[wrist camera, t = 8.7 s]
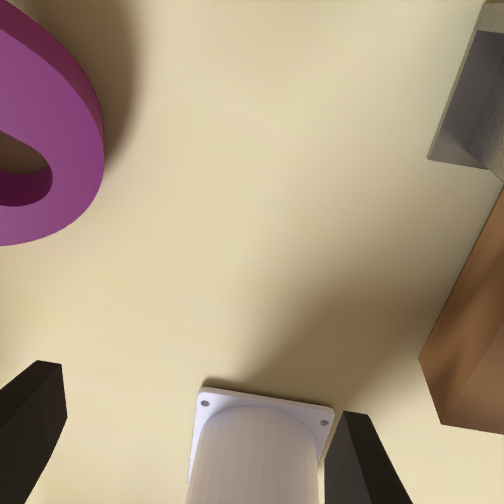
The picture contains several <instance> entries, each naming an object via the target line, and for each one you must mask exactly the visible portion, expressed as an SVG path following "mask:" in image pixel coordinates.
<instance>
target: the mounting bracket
mask: <svg viewBox="0 0 504 504" xmlns="http://www.w3.org/2000/svg"><path fill="white" fill-rule="evenodd" d="M0 131H2V132H4V133H6V134H8V135H10V136H12V137H14V138H15V139H17V140H19V141H21V142H23V143H25V144H27V145H29V146H30V147H32V148H33V149H35V150H36V151H37V152H39V153H40V154H41V155H42V156H43V157H44V158H45V160H46V161H47V162H48V164H49V166H47V167H46V168H45V169H43V170H41V171H39V172H36V173H32V174H23V175H19V174H10V173H6V172H2V171H0V246H8V245H15V244H21V243H26V242H30V241H34V240H37V239H40V238H43V237H46V236H49V235H51V234H53V233H56V232H57V231H59V230H61V229H63V228H65V227H66V226H68V225H69V224H71V223H72V222H74V221H75V220H76V219H77V218H78V217H79V216H81V215H82V214H83V213H84V211H85V210H86V209H87V208H88V207H89V205H90V204H91V203H92V201H93V200H94V198H95V196H96V194H97V192H98V190H99V187H100V184H101V181H102V176H103V171H104V128H103V118H102V113H101V109H100V105H99V102H98V99H97V96H96V94H95V92H94V90H93V87H92V85H91V83H90V81H89V80H88V78H87V76H86V75H85V73H84V71H83V70H82V68H81V67H80V66H79V64H78V63H77V62H76V60H75V59H74V58H73V56H72V55H71V54H70V53H69V52H68V51H67V50H66V49H65V48H64V46H63V45H62V44H61V43H60V42H59V41H57V40H56V39H55V38H54V37H53V36H52V35H51V34H50V33H49V32H48V31H46V30H45V29H44V28H43V27H41V26H40V25H39V24H37V23H36V22H35V21H34V20H32V19H31V18H29V17H28V16H27V15H25V14H24V13H23V12H21V11H20V10H18V9H17V8H16V7H14V6H13V5H12V4H10V3H9V2H7V1H6V0H0Z"/></svg>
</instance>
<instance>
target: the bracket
mask: <svg viewBox="0 0 504 504" xmlns="http://www.w3.org/2000/svg"><path fill="white" fill-rule="evenodd" d="M427 158H428V159H429V160H433V161H439V162H445V163H451V164H457V165H463V166H469V167H475V168H481V169H487V170H490V171H491V172H492V173H494V174H495V175H496V176H497V177H499V178H500V179H501V180H502V181H503V182H504V3H484V4H483V6H482V9H481V12H480V14H479V17H478V20H477V23H476V25H475V28H474V31H473V34H472V36H471V39H470V42H469V44H468V47H467V50H466V53H465V55H464V58H463V61H462V63H461V66H460V69H459V72H458V74H457V77H456V80H455V82H454V85H453V88H452V91H451V93H450V96H449V99H448V101H447V104H446V107H445V110H444V112H443V115H442V118H441V120H440V123H439V126H438V129H437V131H436V134H435V137H434V139H433V142H432V145H431V148H430V150H429V153H428V156H427Z"/></svg>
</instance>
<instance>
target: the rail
mask: <svg viewBox="0 0 504 504" xmlns="http://www.w3.org/2000/svg"><path fill="white" fill-rule="evenodd" d="M419 361H420V364H421V367H422V370H423V373H424V376H425V379H426V382H427V385H428V388H429V391H430V394H431V396H432V399H433V402H434V405H435V408H436V411H437V414H438V417H439V420H440V423H441V424H442V425H448V426H454V427H460V428H466V429H472V430H478V431H484V432H490V433H497V434H503V435H504V189H503V191H502V193H501V195H500V197H499V199H498V201H497V203H496V205H495V207H494V209H493V211H492V213H491V215H490V217H489V219H488V221H487V223H486V225H485V227H484V229H483V231H482V233H481V235H480V237H479V239H478V241H477V243H476V245H475V247H474V249H473V251H472V253H471V255H470V257H469V259H468V261H467V263H466V265H465V267H464V269H463V271H462V273H461V275H460V277H459V279H458V281H457V283H456V285H455V287H454V289H453V291H452V293H451V295H450V297H449V299H448V301H447V303H446V305H445V307H444V309H443V310H442V312H441V314H440V316H439V318H438V320H437V322H436V324H435V326H434V328H433V330H432V332H431V334H430V336H429V338H428V340H427V342H426V344H425V346H424V348H423V350H422V352H421V354H420V356H419Z"/></svg>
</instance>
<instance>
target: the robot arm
mask: <svg viewBox="0 0 504 504" xmlns="http://www.w3.org/2000/svg"><path fill="white" fill-rule="evenodd" d="M204 400H206V401H204ZM334 419H335V413H334V410H333V409H332V408H330V407H326V406H320V405H314V404H308V403H302V402H296V401H290V400H284V399H278V398H272V397H266V396H260V395H254V394H248V393H242V392H235V391H229V390H223V389H217V388H211V387H202V388H200V389H199V391H198V395H197V404H196V412H195V421H194V429H193V438H192V446H191V455H190V464H189V472H188V483H189V486H188V490H187V495H186V500H185V504H319V492H318V475H317V464H318V461H319V459H320V456H321V453H322V451H323V448H324V445H325V443H326V440H327V437H328V435H329V432H330V429H331V427H332V424H333V421H334ZM66 420H67V409H66V400H65V392H64V383H63V375H62V366H61V364H58V363H52V362H46V361H40V360H37V361H35V362H34V363H32V364H31V365H30V366H29V367H28V368H26V369H25V370H24V371H23V372H21V373H20V374H19V375H18V376H16V377H15V378H14V379H13V380H12V381H10V382H9V383H8V384H7V385H5V386H4V387H3V388H2V389H1V390H0V504H25V502H26V500H27V498H28V497H29V495H30V493H31V491H32V490H33V488H34V486H35V484H36V482H37V481H38V479H39V477H40V475H41V473H42V472H43V470H44V468H45V466H46V465H47V463H48V461H49V459H50V457H51V455H52V453H53V450H54V448H55V446H56V444H57V441H58V439H59V437H60V434H61V432H62V429H63V427H64V425H65V422H66ZM324 484H325V504H413V503H412V501H411V499H410V497H409V495H408V494H407V492H406V490H405V488H404V486H403V484H402V483H401V481H400V479H399V477H398V475H397V473H396V471H395V469H394V467H393V465H392V463H391V461H390V459H389V457H388V455H387V453H386V451H385V449H384V447H383V445H382V443H381V441H380V439H379V436H378V434H377V432H376V430H375V428H374V426H373V424H372V421H371V419H370V418H369V416H368V415H367V414H361V413H355V412H348V411H343V413H342V416H341V418H340V421H339V423H338V426H337V429H336V431H335V434H334V436H333V439H332V442H331V444H330V447H329V449H328V452H327V455H326V457H325V466H324Z"/></svg>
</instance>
